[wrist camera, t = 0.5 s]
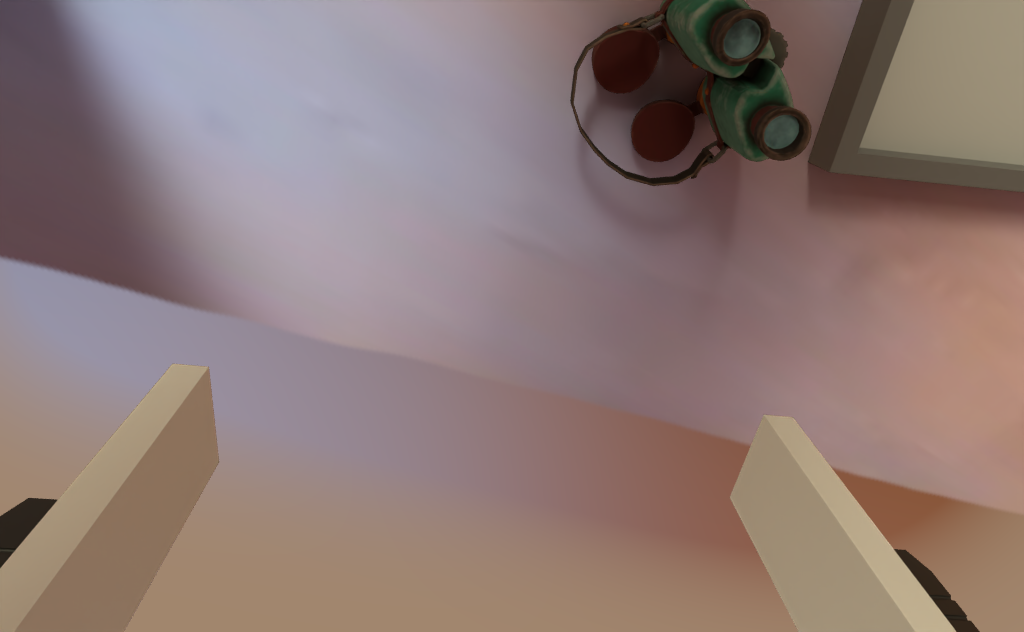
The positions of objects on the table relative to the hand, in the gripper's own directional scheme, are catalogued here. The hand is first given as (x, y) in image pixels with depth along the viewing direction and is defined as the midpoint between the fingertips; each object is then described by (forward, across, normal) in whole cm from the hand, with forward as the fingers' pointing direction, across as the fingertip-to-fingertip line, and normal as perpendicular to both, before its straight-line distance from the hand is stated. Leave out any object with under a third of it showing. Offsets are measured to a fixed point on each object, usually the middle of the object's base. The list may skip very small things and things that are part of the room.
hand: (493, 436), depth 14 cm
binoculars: (+24, +9, +6) cm, 27 cm away
